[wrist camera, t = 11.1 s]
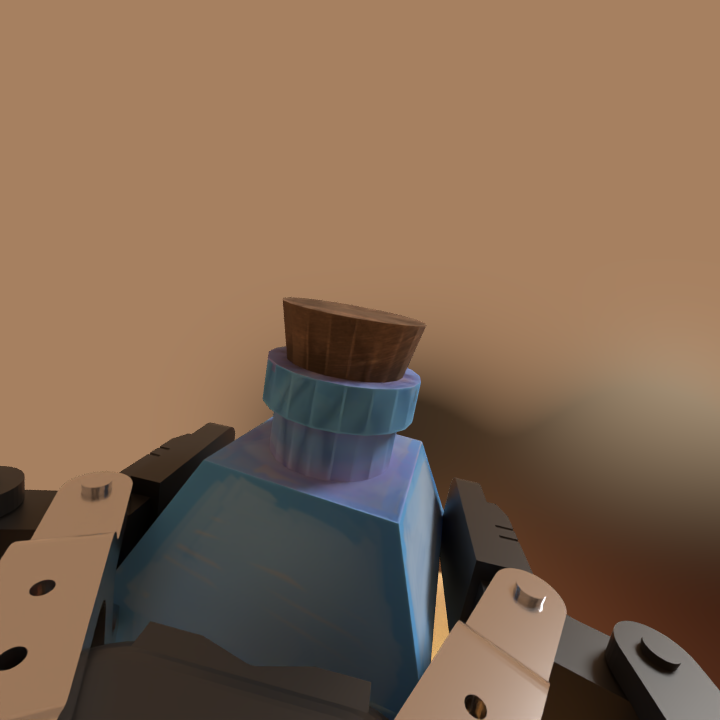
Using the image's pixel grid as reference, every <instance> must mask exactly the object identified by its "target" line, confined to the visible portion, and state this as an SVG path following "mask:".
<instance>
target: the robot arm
mask: <svg viewBox="0 0 720 720" xmlns="http://www.w3.org/2000/svg"><path fill="white" fill-rule="evenodd" d="M234 439H235V430H234V428H233V427H228V426H224V425H219V424H215V423H208V424H206V425H205V426H203V427H202V428H200V429H199V430H197V431H196V432H194V433H193V434H186V435H183V436H179V437H176V438H173V439H171V440H169V441H168V442H167V443H165V444H163V445H162V446H160V448H157V449H155V450H154V451H152V452H151V453H150V455H149V454H148V455H146V456H145V457H143V458H141V459H140V460H138V461H137V462H135V463H133V464H132V465H130V466H129V467H127V468H126V469H124V470H122V471H121V472H119V473H118V472H109V471H102V472H94V473H88V474H84V475H81V476H78V477H75V478H73V479H71V480H69V481H67V482H66V483H64V484H63V485H62V486H61V488H60V489H59V490H58V491H47V490H25V488H24V486H25V485H24V473H23V472H22V471H21V470H19V469H17V468H13V467H7V466H0V720H389V719H388V718H386V717H385V716H384V715H383V714H381V713H380V712H379V711H377V710H376V709H374V708H372V707H371V706H369V703H370V692H371V682H369V681H366V680H362V679H359V678H355V677H351V676H348V675H344V674H340V673H337V672H333V671H330V670H326V669H322V668H319V667H315V666H253V665H250V664H248V663H246V662H244V661H242V660H241V659H239V658H238V657H236V656H234V655H233V654H231V653H230V652H228V651H226V650H225V649H223V648H222V647H220V646H218V645H217V644H215V643H214V642H212V641H210V640H209V639H207V638H206V637H204V636H202V635H199V634H195V633H192V632H188V631H184V630H181V629H177V628H173V627H170V626H166V625H163V624H159V623H155V622H152V621H150V622H149V623H148V625H147V626H146V627H145V629H144V630H143V631H142V633H141V634H140V635H139V636H138V638H137V639H136V640H135V641H125V642H116V643H115V640H116V635H117V630H118V624H119V605H117V604H114V603H113V601H114V583H115V574H116V570H117V569H118V567H119V566H120V565H121V564H122V562H123V561H124V560H125V558H126V557H127V556H128V555H129V553H130V552H131V551H132V550H133V548H134V547H135V546H136V545H137V543H138V542H139V541H140V540H141V538H142V537H143V536H144V534H145V533H146V532H147V531H148V529H149V528H150V527H151V526H152V524H153V523H154V522H155V521H156V519H157V518H158V517H159V516H160V514H161V513H162V512H163V511H164V509H165V508H166V507H167V505H168V504H169V503H170V502H171V500H172V499H173V498H174V497H175V495H176V494H177V493H178V492H179V490H180V489H181V488H182V487H183V485H184V484H185V483H186V481H187V480H188V479H189V478H190V476H191V475H192V474H193V473H194V471H195V470H196V469H197V468H198V466H199V465H200V464H201V463H202V461H203V460H204V459H206V458H207V457H209V456H211V455H212V454H214V453H215V452H217V451H219V450H220V449H222V448H223V447H225V446H227V445H228V444H230V443H231V442H233V441H234ZM440 562H441V570H442V578H443V587H444V595H445V603H446V611H447V620H448V628H449V635H448V637H447V638H446V640H445V641H444V643H443V644H442V646H441V647H440V649H439V651H438V652H437V654H436V655H435V657H434V658H433V660H432V661H431V663H430V665H429V666H428V668H427V669H426V671H425V672H424V674H423V675H422V677H421V679H420V680H419V682H418V683H417V685H416V686H415V688H414V689H413V691H412V693H411V694H410V696H409V697H408V699H407V700H406V702H405V703H404V705H403V707H402V708H401V710H400V711H399V713H398V714H397V716H396V717H395V719H394V720H720V691H719V690H718V688H717V687H716V686H715V685H714V683H713V682H712V681H711V680H710V679H709V677H708V676H707V675H706V674H705V672H704V671H703V670H702V669H701V668H700V666H699V665H698V664H697V663H696V662H695V661H694V660H693V658H691V656H690V655H689V654H688V653H687V652H686V651H684V650H683V649H682V648H681V647H680V646H679V645H677V644H676V643H675V642H673V641H672V640H671V639H669V638H668V637H666V636H665V635H663V634H661V633H660V632H658V631H656V630H654V629H652V628H650V627H648V626H645V625H643V624H640V623H636V622H632V621H622V622H619V623H617V624H616V625H615V627H614V629H613V632H612V635H611V637H610V636H608V635H606V634H603V633H601V632H599V631H597V630H595V629H593V628H591V627H589V626H587V625H585V624H583V623H581V622H579V621H577V620H575V619H573V618H571V617H570V616H568V615H567V614H566V607H565V604H564V602H563V600H562V599H561V597H560V596H559V595H558V593H557V592H556V591H555V590H554V589H553V588H552V587H551V586H550V585H549V584H547V583H546V582H545V581H543V580H542V579H540V578H539V577H537V576H535V575H533V573H532V571H531V569H530V566H529V564H528V562H527V559H526V557H525V555H524V553H523V550H522V548H521V546H520V543H519V542H518V539H517V537H516V534H515V532H514V531H513V528H512V525H511V523H510V521H509V519H508V516H507V515H506V514H504V512H503V511H502V510H501V509H500V508H499V507H498V506H497V505H496V504H493V503H488V502H486V499H485V497H484V494H483V491H482V488H481V486H480V484H479V483H476V482H471V481H467V480H463V479H458V478H453V480H452V482H451V485H450V489H449V493H448V497H447V501H446V505H445V509H444V512H443V525H442V536H441V548H440Z"/></svg>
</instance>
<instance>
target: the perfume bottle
mask: <svg viewBox="0 0 720 720" xmlns="http://www.w3.org/2000/svg"><path fill="white" fill-rule="evenodd" d="M283 307H284V322H285V335H286V346H285V347H279V348H275V349H273V350H271V351H269V355H268V362H267V370H266V378H265V385H264V393H263V401H264V402H265V403H266V405H267V406H268V407H269V409H271V410H272V411H274V414H273V417H272V418H270V419H268V420H267V421H265V422H264V423H262V424H260V425H259V426H257V427H256V428H254V429H252V430H251V431H249V432H248V433H246V434H244V435H243V436H241V437H239V438H238V439H236V440H235V441H233V442H231V443H230V444H228V445H227V446H225V447H223V448H222V449H220V450H219V451H217V452H215V453H214V454H212V455H211V456H209V457H207V458H206V459H204V460H203V461H202V463H201V464H200V465H199V466H198V468H197V469H196V470H195V471H194V473H193V474H192V475H191V476H190V478H189V479H188V480H187V481H186V483H185V484H184V485H183V487H182V488H181V489H180V490H179V492H178V493H177V494H176V495H175V497H174V498H173V499H172V500H171V502H170V503H169V504H168V505H167V507H166V508H165V509H164V511H163V512H162V513H161V514H160V516H159V517H158V518H157V519H156V521H155V522H154V523H153V524H152V526H151V527H150V528H149V529H148V531H147V532H146V533H145V534H144V536H143V537H142V538H141V540H140V541H139V542H138V543H137V545H136V546H135V547H134V548H133V550H132V551H131V552H130V553H129V555H128V556H127V557H126V558H125V560H124V561H123V562H122V564H121V565H120V566H119V567H118V569H117V570H116V574H115V583H114V601H113V603H114V604H117V605H119V624H118V630H117V635H116V640H115V643H116V642H125V641H135V640H136V639H137V638H138V636H139V635H140V634H141V633H142V631H143V630H144V629H145V627H146V626H147V625H148V623H149V622H150V621H152V622H155V623H159V624H163V625H166V626H170V627H173V628H177V629H181V630H184V631H188V632H192V633H195V634H199V635H202V636H204V637H206V638H207V639H209V640H210V641H212V642H214V643H215V644H217V645H218V646H220V647H222V648H223V649H225V650H226V651H228V652H230V653H231V654H233V655H234V656H236V657H238V658H239V659H241V660H242V661H244V662H246V663H248V664H250V665H253V666H315V667H319V668H322V669H326V670H330V671H333V672H337V673H340V674H344V675H348V676H351V677H355V678H359V679H362V680H366V681H369V682H371V692H370V703H369V706H371V707H372V708H374V709H376V710H377V711H379V712H380V713H381V714H383V715H384V716H385V717H386V718H388V719H389V720H394V719H395V717H396V716H397V714H398V713H399V711H400V710H401V708H402V707H403V705H404V703H405V702H406V700H407V699H408V697H409V696H410V694H411V693H412V691H413V689H414V688H415V686H416V685H417V683H418V682H419V680H420V679H421V677H422V675H423V674H424V672H425V671H426V669H427V668H428V666H429V665H430V663H431V652H432V641H433V629H434V617H435V606H436V594H437V583H438V571H439V559H440V548H441V536H442V525H443V512H444V511H443V508H442V505H441V502H440V498H439V495H438V492H437V489H436V485H435V482H434V479H433V476H432V473H431V469H430V466H429V463H428V460H427V456H426V454H425V450H424V447H423V444H422V441H418V440H415V439H411V438H407V437H403V436H400V435H396V432H398V431H401V430H404V429H406V428H407V427H408V426H409V425H410V424H411V423H412V419H413V415H414V411H415V406H416V402H417V397H418V393H419V388H420V383H421V381H420V376H418V375H417V374H416V373H415V372H414V371H412V370H410V369H408V368H407V367H408V365H409V363H410V360H411V358H412V356H413V354H414V352H415V349H416V347H417V345H418V342H419V341H420V338H421V336H422V334H423V332H424V329H425V327H426V324H425V323H423V322H421V321H418V320H415V319H412V318H408V317H405V316H401V315H397V314H393V313H388V312H384V311H379V310H374V309H369V308H364V307H359V306H353V305H347V304H341V303H336V302H329V301H322V300H314V299H305V298H291V297H288V298H283Z"/></svg>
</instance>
